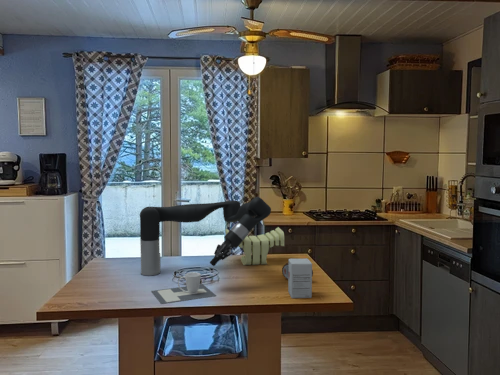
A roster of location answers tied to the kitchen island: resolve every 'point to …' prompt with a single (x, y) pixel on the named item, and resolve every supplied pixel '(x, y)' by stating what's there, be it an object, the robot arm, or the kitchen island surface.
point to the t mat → (181, 294)
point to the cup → (191, 282)
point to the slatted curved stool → (260, 246)
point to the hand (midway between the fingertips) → (211, 264)
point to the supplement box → (300, 278)
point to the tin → (285, 270)
